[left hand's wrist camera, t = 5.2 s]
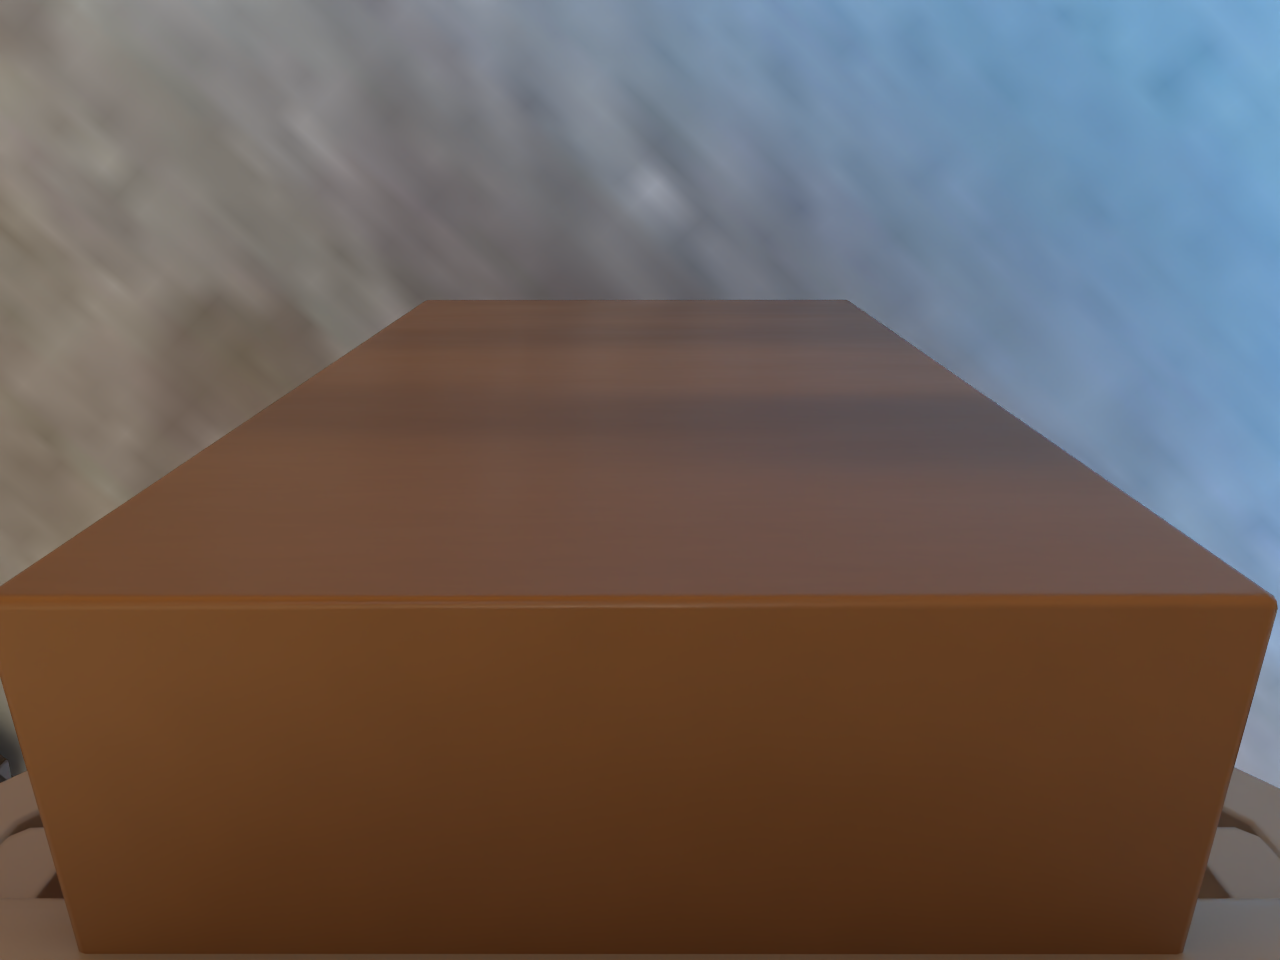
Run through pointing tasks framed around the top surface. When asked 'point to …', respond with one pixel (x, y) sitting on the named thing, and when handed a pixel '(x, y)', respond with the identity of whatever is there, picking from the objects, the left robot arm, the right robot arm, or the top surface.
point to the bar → (631, 660)
